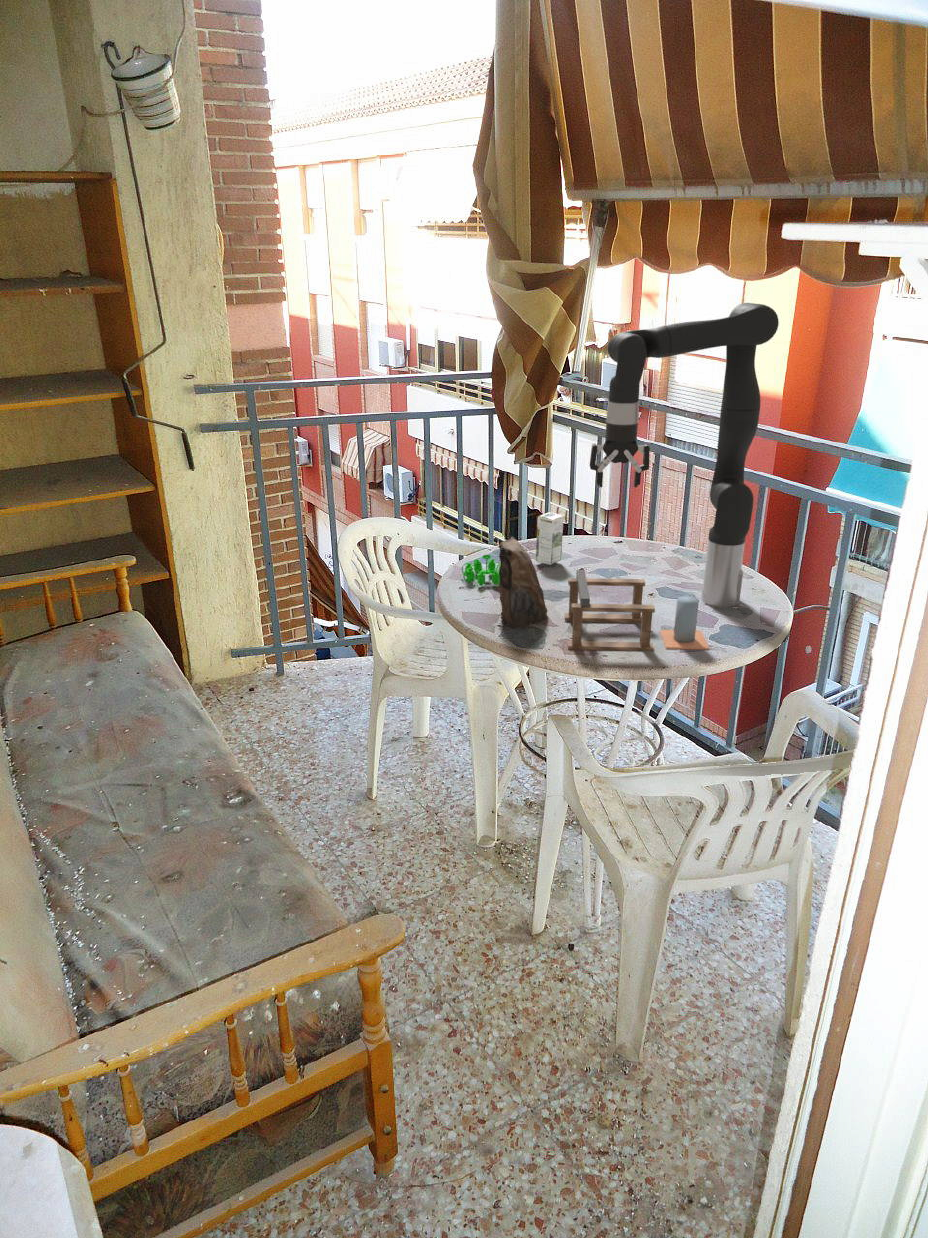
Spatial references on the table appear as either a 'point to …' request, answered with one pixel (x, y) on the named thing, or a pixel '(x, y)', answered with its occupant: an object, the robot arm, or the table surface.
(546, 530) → the syrup box
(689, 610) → the grey-blue cylinder
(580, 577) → the bar
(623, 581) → the gantry
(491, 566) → the chandelier
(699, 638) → the terracotta tile
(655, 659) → the table surface
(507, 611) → the brown pointed rock
